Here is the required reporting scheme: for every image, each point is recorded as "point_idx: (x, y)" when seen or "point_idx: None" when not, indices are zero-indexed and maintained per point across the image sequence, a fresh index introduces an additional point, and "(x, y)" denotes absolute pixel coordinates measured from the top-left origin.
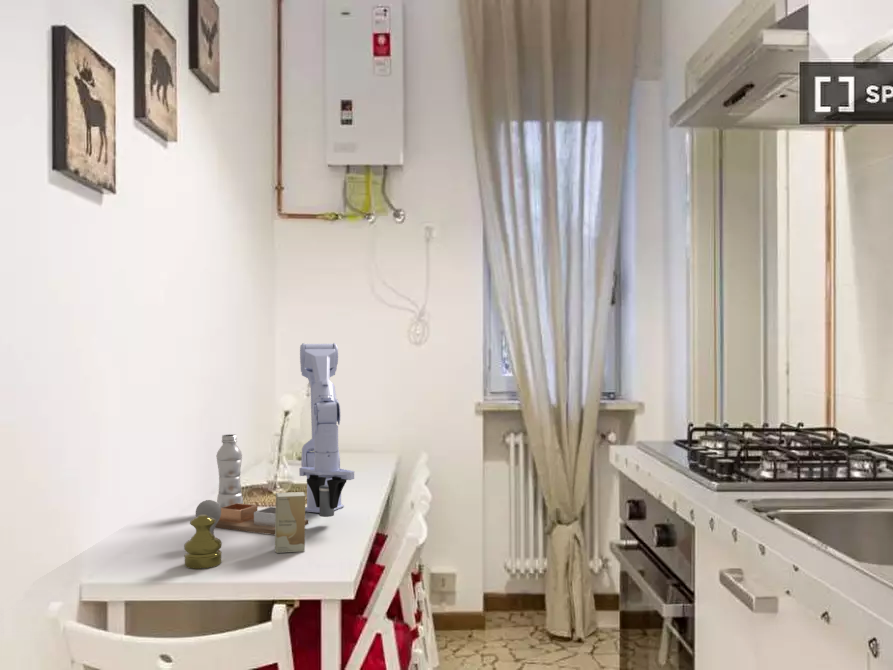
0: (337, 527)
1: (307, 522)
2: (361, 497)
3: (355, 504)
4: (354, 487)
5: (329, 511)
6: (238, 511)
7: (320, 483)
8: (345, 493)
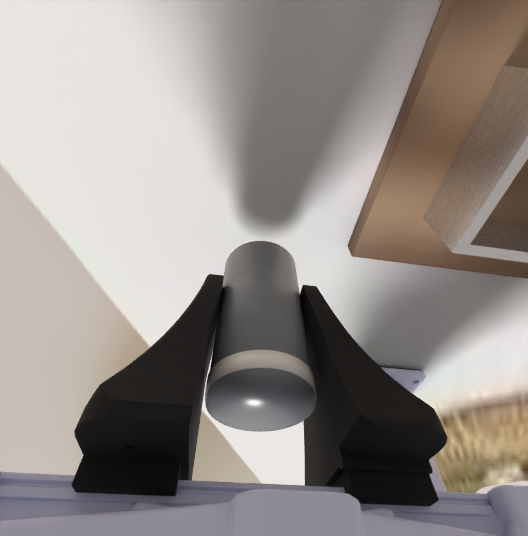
0: (200, 227)
1: (352, 245)
2: (296, 471)
3: (284, 438)
4: None
5: (231, 266)
6: None
7: (320, 430)
8: None
